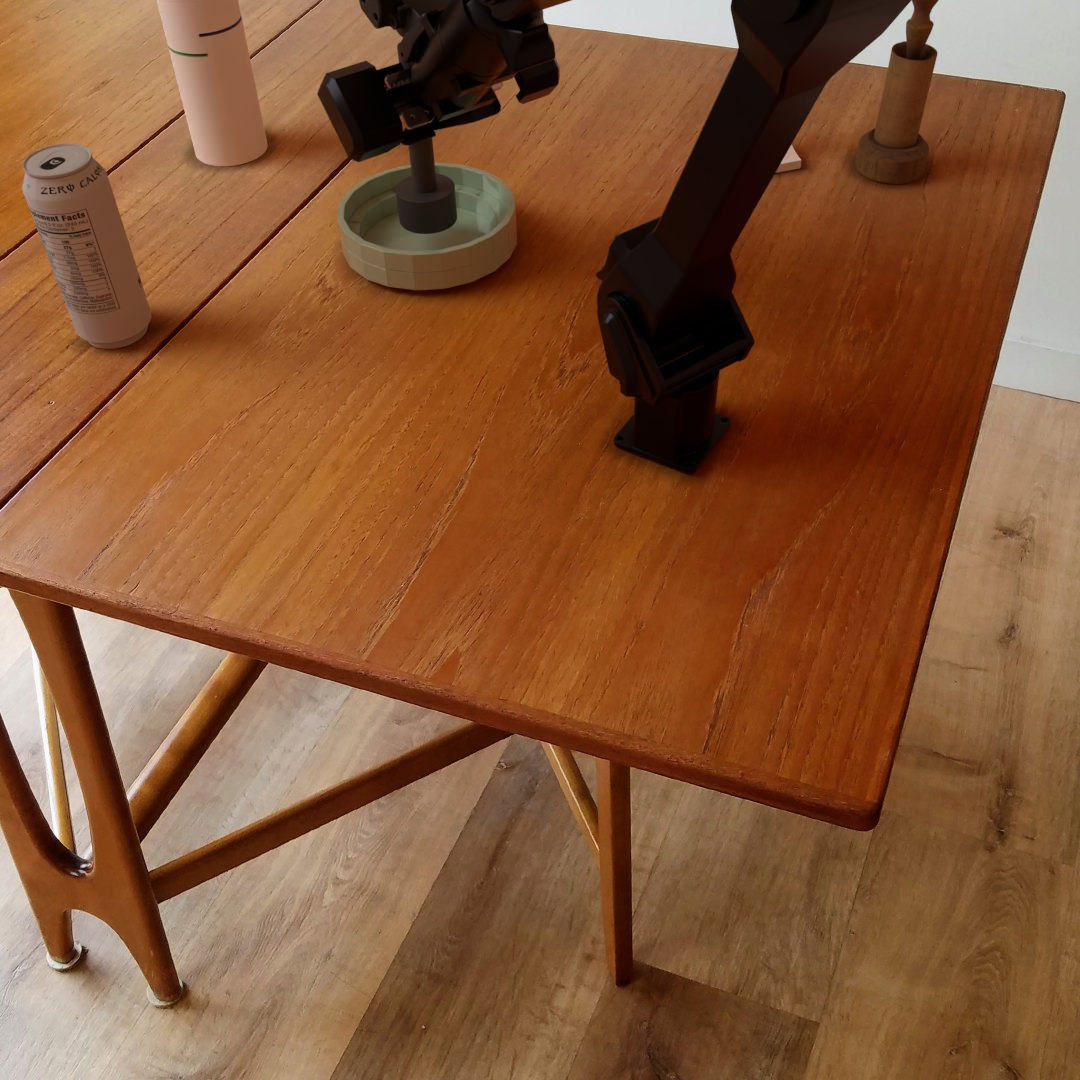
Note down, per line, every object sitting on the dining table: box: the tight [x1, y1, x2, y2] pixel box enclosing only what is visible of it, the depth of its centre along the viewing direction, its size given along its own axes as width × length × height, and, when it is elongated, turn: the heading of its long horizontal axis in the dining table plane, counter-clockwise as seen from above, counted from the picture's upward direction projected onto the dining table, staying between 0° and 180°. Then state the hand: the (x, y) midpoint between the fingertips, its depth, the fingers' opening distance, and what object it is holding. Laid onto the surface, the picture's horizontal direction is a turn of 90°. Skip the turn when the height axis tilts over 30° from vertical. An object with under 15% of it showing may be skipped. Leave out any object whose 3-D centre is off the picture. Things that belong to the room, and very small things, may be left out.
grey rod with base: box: [396, 42, 457, 234], centre depth 94 cm, size 5×5×15 cm
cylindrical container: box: [156, 0, 269, 167], centre depth 106 cm, size 7×7×25 cm
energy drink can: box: [21, 142, 152, 350], centre depth 89 cm, size 6×6×15 cm
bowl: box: [336, 162, 518, 291], centre depth 100 cm, size 15×15×4 cm
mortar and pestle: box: [854, 0, 940, 185], centre depth 103 cm, size 7×6×18 cm
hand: (411, 130), depth 95 cm, fingers closed on grey rod with base
